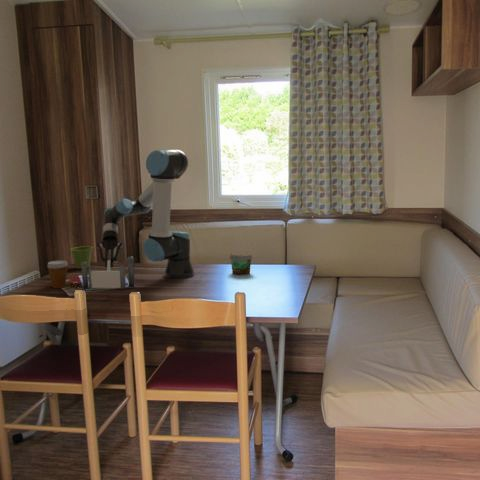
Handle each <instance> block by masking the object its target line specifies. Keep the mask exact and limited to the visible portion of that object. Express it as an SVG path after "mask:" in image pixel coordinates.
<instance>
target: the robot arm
mask: <svg viewBox="0 0 480 480" xmlns="http://www.w3.org/2000/svg"><path fill="white" fill-rule="evenodd" d="M146 157H147V158H146V159H145V168H146V170H147V172H148V173H149V175H150V179H151V183H150V184H149V185H148V186H147V187H146V188H145V190H143V191H142V193H140V195H139V196H138V197H137V198H136V199H134V200H130V199H127V198H126V197H125V198H124V197H123V198H121V199H120V200H119V201H118V202H117V203H115V205H114V206H110V207H106V208H105V210H104V213H103V229H102V241H101V243H98V244H96V247H97V249H98V251H99V255H100V258H101V262H102V263H104V267H105V268H106V271H112V268H114V262H118V259H119V256H120V252H121V251H122V248H124V246H123V243H122V242H119V238H118V237H119V223H120V222H121V221H122V220H123V219H124V218H125V217H128V216H135V215H144V214H147V213H149V212H150V210H151V207H152V217H151V230H150V231H148V238H147V239H146V240H145V241H144V242H143V245H142V250H143V253H144V256H146V258H147V259H148V260H149V261H152V262H153V263H154V262H155V263H157V262H163V261H165V260H167V263H166V267H165V268H164V269H165V270H164V277H165V278H168V279H176V280H177V279H187V278H191V277H194V276H195V271H194V267H193V265H192V262H191V244H190V240H191V239H190V234H189V233H188V232H187V231H175V230H174V231H172V230H170V229H171V228H170V225H171V224H170V223H171V205H172V203H171V202H172V184H173V182H174V181H175V180H179V179H180V178H181V177H182V176H183V175H184V174H185V172H186V171H187V169H188V166H189V159H188V157H187V155H186V154H185V152H183V151H182V150H180V149H156V150H153V151H151V152H150V153H149V154H148V156H146ZM103 248H104V249H105V252H104V253H105V255H104V253H103V250H102V249H103ZM115 249H116V251H115ZM109 252H110V259H109Z"/></svg>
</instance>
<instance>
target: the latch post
mask: <svg viewBox="0 0 480 480" xmlns="http://www.w3.org/2000/svg"><path fill="white" fill-rule="evenodd" d="M126 263H127V265H126V266H127V278H128V279H127V281H128V283H127V284H128V285H127V289H135V288H136V287H137V285H136V278H135V275H136V274H135V258H134V257H133V256H131V255H130V256H128V257H127V259H126Z"/></svg>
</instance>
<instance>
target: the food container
mask: <svg viewBox="0 0 480 480" xmlns="http://www.w3.org/2000/svg"><path fill="white" fill-rule="evenodd" d="M229 259H230V263H231V272H232V274H233V275H235V276H236V275H237V276H245V275H250V273H251V262H252V259H253V256H252V255H251V254H249V255H242V254H239V255H232V253H230V254H229Z"/></svg>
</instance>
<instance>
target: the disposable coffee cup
mask: <svg viewBox="0 0 480 480" xmlns="http://www.w3.org/2000/svg"><path fill="white" fill-rule="evenodd" d="M68 265H69V263H68V261H67V260H52V261H49V262H47V265H46V266H47V269H48V272H49V277H50V282H51V287H52V288H53V289H61V288H65V287H67V276H68V275H67V274H68V273H67V272H68Z"/></svg>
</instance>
